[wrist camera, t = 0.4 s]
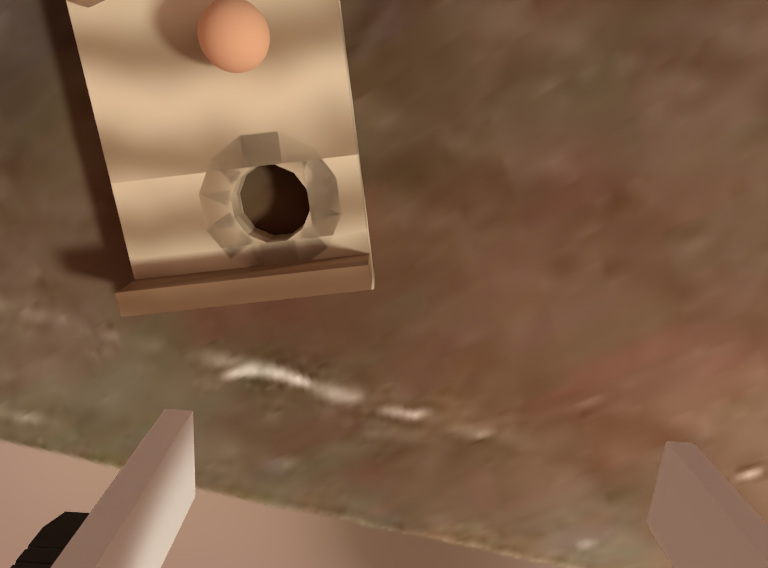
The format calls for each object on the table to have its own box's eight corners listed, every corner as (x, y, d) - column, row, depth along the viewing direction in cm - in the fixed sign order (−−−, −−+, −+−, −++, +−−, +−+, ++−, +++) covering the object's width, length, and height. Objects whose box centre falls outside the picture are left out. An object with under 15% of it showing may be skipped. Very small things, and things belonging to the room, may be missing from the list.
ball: (203, 8, 35) (180, -5, 31) (269, -1, 35) (254, -15, 31) (216, 78, 36) (195, 75, 32) (280, 70, 36) (267, 66, 32)
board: (64, -85, 36) (9, -119, 30) (324, -120, 35) (314, -161, 30) (156, 303, 43) (124, 330, 37) (374, 278, 42) (373, 303, 37)
